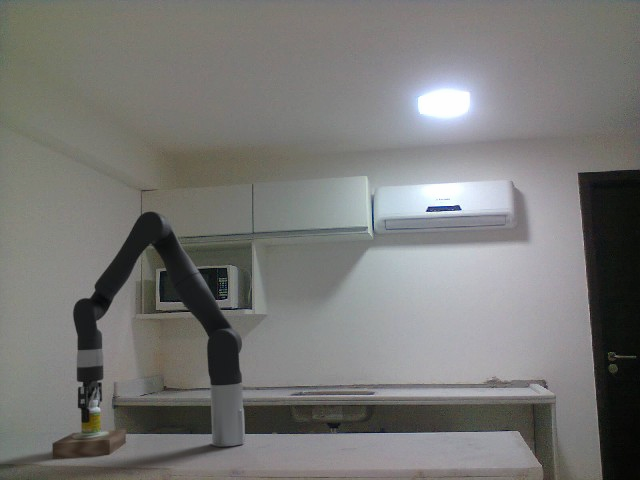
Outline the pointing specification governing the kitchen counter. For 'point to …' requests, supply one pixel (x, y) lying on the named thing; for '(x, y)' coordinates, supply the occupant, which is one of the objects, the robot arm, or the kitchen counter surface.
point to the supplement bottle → (92, 421)
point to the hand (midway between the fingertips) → (90, 420)
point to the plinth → (89, 444)
